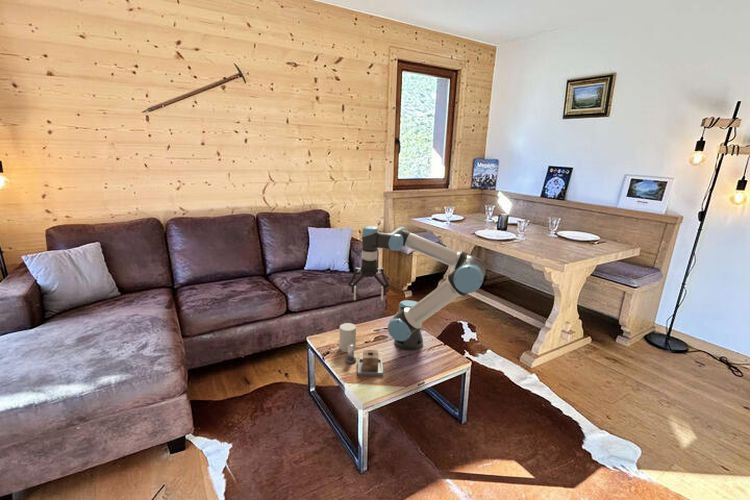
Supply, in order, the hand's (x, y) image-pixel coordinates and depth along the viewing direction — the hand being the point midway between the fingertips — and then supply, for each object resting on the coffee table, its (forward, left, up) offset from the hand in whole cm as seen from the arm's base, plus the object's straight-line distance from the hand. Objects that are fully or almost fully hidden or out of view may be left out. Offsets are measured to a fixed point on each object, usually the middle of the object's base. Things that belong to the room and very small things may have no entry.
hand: (368, 299), depth 187 cm
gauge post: (+8, +13, -27) cm, 31 cm away
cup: (+10, +1, -27) cm, 29 cm away
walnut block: (-1, +19, -26) cm, 32 cm away
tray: (-1, +19, -27) cm, 33 cm away
